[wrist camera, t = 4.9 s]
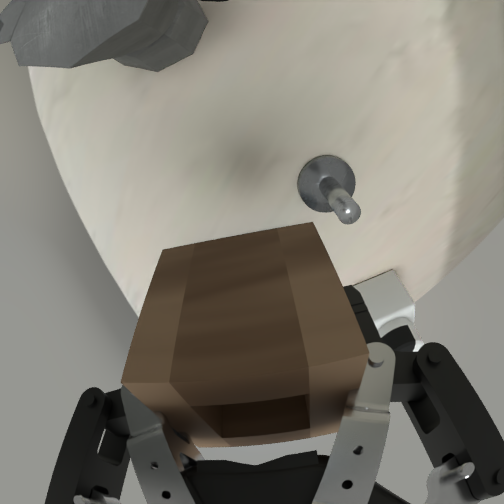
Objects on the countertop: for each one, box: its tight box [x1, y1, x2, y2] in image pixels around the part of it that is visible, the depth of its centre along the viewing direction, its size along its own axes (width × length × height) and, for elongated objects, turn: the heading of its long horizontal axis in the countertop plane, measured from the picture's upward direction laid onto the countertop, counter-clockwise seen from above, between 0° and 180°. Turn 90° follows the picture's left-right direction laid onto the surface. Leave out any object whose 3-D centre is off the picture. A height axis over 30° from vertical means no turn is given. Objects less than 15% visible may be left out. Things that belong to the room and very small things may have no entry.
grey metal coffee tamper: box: [298, 155, 361, 224], centre depth 24 cm, size 6×6×7 cm
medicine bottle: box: [353, 270, 424, 352], centre depth 32 cm, size 7×7×12 cm
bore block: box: [121, 222, 370, 447], centre depth 10 cm, size 6×6×6 cm
